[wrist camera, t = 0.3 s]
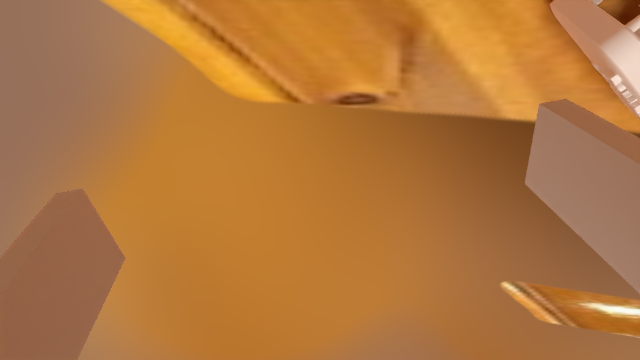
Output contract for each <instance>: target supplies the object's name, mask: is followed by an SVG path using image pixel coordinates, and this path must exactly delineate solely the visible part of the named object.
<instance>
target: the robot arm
mask: <svg viewBox="0 0 640 360" xmlns="http://www.w3.org/2000/svg"><path fill="white" fill-rule="evenodd" d="M525 184H526V185H527V186H528V187H529V188H530V189H531V190H532V191H533V192H534V193H535V194H536V195H537V196H538V197H539V198H540V199H541V200H542V201H544V202H545V203H546V204H547V205H548V206H549V207H550V208H551V209H552V210H553V211H554V212H555V213H556V214H557V215H558V216H559V217H560V218H561V219H562V220H563V221H564V222H565V223H567V225H569V226H570V227H571V228H572V229H573V230H574V231H575V232H576V233H577V234H578V235H579V236H580V237H581V238H582V239H583V240H584V241H585V242H586V243H587V244H588V245H590V247H592V248H593V249H594V250H595V251H596V252H597V253H598V254H599V255H600V256H601V257H602V258H603V259H604V260H605V261H606V262H607V263H608V264H609V265H610V266H611V267H612V268H613V269H614V270H615V271H617V272H618V273H619V274H620V275H621V276H622V277H623V278H624V279H625V280H626V281H627V282H628V283H629V284H630V285H631V286H632V287H633V288H634V289H635V290H636V291H637V292H638V293H640V138H638V137H636V136H635V135H633V134H631V133H629V132H627V131H625V130H623V129H621V128H620V127H618V126H616V125H614V124H612V123H610V122H608V121H606V120H605V119H603V118H601V117H599V116H597V115H595V114H593V113H591V112H590V111H588V110H586V109H584V108H582V107H580V106H578V105H576V104H575V103H573V102H571V101H569V100H567V99H562V100H557V101H552V102H546V103H541V104H539V108H538V114H537V119H536V125H535V130H534V136H533V141H532V147H531V152H530V158H529V163H528V169H527V174H526V180H525ZM124 260H125V257H124V255H123V253H122V252H121V250H120V249H119V247H118V245H117V244H116V242H115V240H114V239H113V237H112V235H111V234H110V232H109V231H108V229H107V227H106V226H105V224H104V222H103V221H102V219H101V218H100V216H99V214H98V213H97V211H96V209H95V208H94V206H93V205H92V203H91V201H90V200H89V198H88V196H87V195H86V193H85V192H84V190H83V189H78V190H72V191H67V192H61V193H56V194H55V195H54V196H53V198H51V200H50V201H49V202H48V203H47V204H46V205H45V206H44V208H43V209H42V210H41V211H40V212H39V213H38V215H37V216H36V217H35V218H34V219H33V220H32V221H31V223H30V224H29V225H28V226H27V227H26V228H25V229H24V231H23V232H22V233H21V234H20V235H19V236H18V237H17V239H16V240H15V241H14V242H13V243H12V244H11V246H10V247H9V248H8V249H7V250H6V251H5V252H4V253H3V255H2V256H1V257H0V360H77V359H78V357H79V355H80V353H81V351H82V349H83V346H84V344H85V342H86V340H87V338H88V336H89V334H90V331H91V329H92V327H93V325H94V323H95V321H96V319H97V317H98V315H99V313H100V311H101V309H102V306H103V304H104V302H105V300H106V298H107V296H108V294H109V292H110V289H111V287H112V285H113V283H114V281H115V279H116V277H117V275H118V273H119V270H120V268H121V266H122V264H123V262H124Z"/></svg>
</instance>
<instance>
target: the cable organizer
mask: <svg viewBox="0 0 640 360" xmlns="http://www.w3.org/2000/svg"><path fill="white" fill-rule="evenodd" d="M602 1H603V0H553V1H552V2H551V3H550V8H551V10H552V12H553V14H554V16H555V17H556V19H557V20H558V21H559V23H560V24H561V25H562V26H563V28H564V29H565V30H566V31H567V33H568V34H569V35H570V36H571V38H572V39H573V40H574V41H575V43H576V44H577V45H578V46H579V48H580V49H581V50H582V51H583V52H584V54H585V55H586V56H587V57H588V59H589V60H590V61H591V64H592V65H593V66H594V68H595V69H596V70H597V71H598V72H599V73H600V74H601V75H602V76H603V77H604V78H605V80H606V81H607V82H608V83H609V85H610V87H611V89H612V90H613V91H614V92H615V93H616V95H617V96H618V97H619V98H620V100H621V101H622V102H623V103H624V104H625V105H626V106H627V107H628V108H629V109H630V110H631V111H632V112H633V113H634V114H635V115H636V116H637V117H638V118H639V119H640V14H639V15H638V16H637V17H635V18H634V19H633V20H631V21H630V22H628V23H627V24H626V25H623V24H622V23H620V22H619V21H618V20H616V19H615V18H614V17H612V16H611V15H609V14H608V13H607V12H605V11H604V10H602V9H601V8H600V7H598V6H597V5H598V4H600V3H601V2H602ZM639 6H640V5H639Z"/></svg>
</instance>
